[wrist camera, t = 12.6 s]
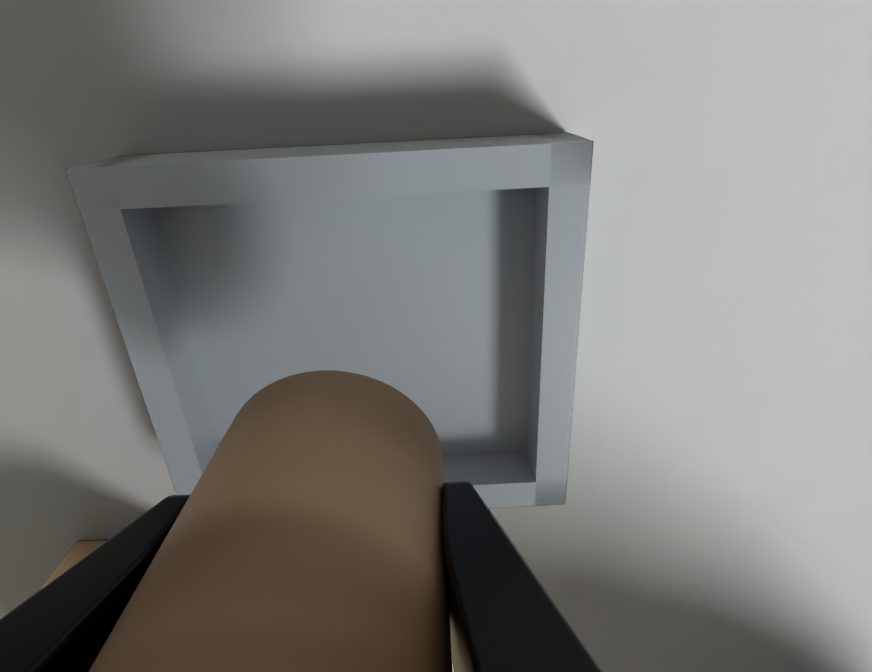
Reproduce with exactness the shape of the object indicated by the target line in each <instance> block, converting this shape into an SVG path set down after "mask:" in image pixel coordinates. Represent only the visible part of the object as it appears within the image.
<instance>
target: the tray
mask: <svg viewBox="0 0 872 672" xmlns="http://www.w3.org/2000/svg"><path fill="white" fill-rule="evenodd" d="M593 142H594V141H591V140H588V139H585V138H582V137H580V136H577V135H574V134H571V133H568V132H565V133H546V134H527V135H508V136H489V137H471V138H452V139H433V140H414V141H395V142H376V143H357V144H338V145H319V146H300V147H281V148H262V149H243V150H224V151H205V152H186V153H167V154H148V155H129V156H118V157H114V158H110V159H105V160H101V161H97V162H93V163H89V164H84V165H80V166H76V167H72V168H68V169H65V171H66V174H67V177H68V180H69V183H70V185H71V188H72V191H73V194H74V197H75V200H76V203H77V206H78V209H79V212H80V215H81V218H82V220H83V223H84V226H85V229H86V232H87V235H88V238H89V241H90V244H91V247H92V250H93V252H94V255H95V258H96V261H97V264H98V267H99V270H100V273H101V276H102V279H103V282H104V285H105V287H106V290H107V293H108V296H109V299H110V302H111V305H112V308H113V311H114V314H115V317H116V320H117V322H118V325H119V328H120V331H121V334H122V337H123V340H124V343H125V346H126V349H127V352H128V354H129V357H130V360H131V363H132V366H133V369H134V372H135V375H136V378H137V381H138V384H139V387H140V389H141V392H142V395H143V398H144V401H145V404H146V407H147V410H148V413H149V416H150V419H151V422H152V424H153V427H154V430H155V433H156V436H157V439H158V442H159V445H160V448H161V451H162V454H163V456H164V459H165V462H166V465H167V468H168V471H169V474H170V477H171V480H172V483H173V486H174V489H175V491H176V494H177V495H190V494H191V493H192V491H193V489H194V488H195V486H196V484H197V483H198V481H199V479H200V477H201V476H202V474H203V472H204V470H205V469H206V467H207V465H208V463H209V462H210V460H211V458H212V457H213V455H214V453H215V451H216V450H217V448H218V446H219V444H220V443H221V441H222V439H223V437H224V436H225V434H226V432H227V430H228V429H229V427H230V425H231V424H232V422H233V420H234V418H235V417H236V415H237V413H238V412H239V411H240V409H241V408H242V407H243V405H244V404H245V403H246V402H247V401H248V400H249V399H250V398H251V397H252V396H253V395H254V394H256V393H257V392H258V391H260V390H261V389H263V388H264V387H266V386H268V385H269V384H271V383H273V382H275V381H277V380H280V379H282V378H285V377H288V376H291V375H295V374H299V373H303V372H311V371H320V370H335V371H344V372H352V373H356V374H360V375H365V376H368V377H371V378H373V379H376V380H379V381H381V382H383V383H385V384H388V385H390V386H392V387H394V388H395V389H397V390H398V391H400V392H401V393H403V394H404V395H406V396H407V397H408V398H409V399H411V400H412V401H413V402H414V403H415V404H416V405H417V406H418V407H419V408H420V409H421V410H422V411H423V412H424V413H425V415H426V416H427V417H428V419H429V420H430V422H431V423H432V425H433V427H434V429H435V431H436V433H437V435H438V438H439V441H440V444H441V448H442V455H443V472H444V483H445V482H453V481H468V482H470V483H471V484H472V486H473V487H474V488H475V490H476V491H477V493H478V494H479V495H480V497H481V498H482V500H483V501H484V503H485V504H486V505H487V507H488V508H499V507H519V506H540V505H560V504H565V500H566V487H567V474H568V461H569V448H570V436H571V423H572V410H573V397H574V385H575V372H576V359H577V346H578V334H579V321H580V308H581V295H582V282H583V270H584V257H585V244H586V231H587V219H588V206H589V193H590V180H591V167H592V155H593Z"/></svg>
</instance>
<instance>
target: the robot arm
mask: <svg viewBox="0 0 872 672" xmlns="http://www.w3.org/2000/svg"><path fill="white" fill-rule="evenodd" d="M190 495H191V494H190ZM190 495H173V496H169V497H166V498H165V499H163V500H162V501H161V502H159V503H158V504H156V505H155V506H154V507H152V508H151V509H150V510H148V511H147V512H146V513H144V514H143V515H142V516H140V517H139V518H137V519H136V520H135V521H133V522H132V523H131V524H129V525H128V526H127V527H125V528H124V529H122V530H121V531H120V532H118V533H117V534H116V535H114V536H113V537H112V538H110V539H109V540H108V541H106V542H105V543H103V544H102V545H101V546H99V547H98V548H97V549H95V550H94V551H93V552H91V553H90V554H89V555H87V556H86V557H84V558H83V559H82V560H80V561H79V562H78V563H76V564H75V565H74V566H72V567H71V568H69V569H68V570H67V571H65V572H64V573H63V574H61V575H60V576H59V577H57V578H56V579H55V580H53V581H52V582H50V583H49V584H48V585H46V586H45V587H44V588H42V589H41V590H40V591H38V592H37V593H35V594H34V595H33V596H31V597H30V598H29V599H27V600H26V601H25V602H23V603H22V604H21V605H19V606H18V607H16V608H15V609H14V610H12V611H11V612H10V613H8V614H7V615H6V616H4V617H3V618H2V619H0V672H89V670H90V668H91V666H92V665H93V663H94V661H95V660H96V658H97V656H98V654H99V653H100V651H101V649H102V647H103V646H104V644H105V642H106V640H107V639H108V637H109V635H110V634H111V632H112V630H113V628H114V627H115V625H116V623H117V621H118V620H119V618H120V616H121V614H122V613H123V611H124V609H125V607H126V606H127V604H128V602H129V601H130V599H131V597H132V595H133V594H134V592H135V590H136V588H137V587H138V585H139V583H140V581H141V580H142V578H143V576H144V575H145V573H146V571H147V569H148V568H149V566H150V564H151V562H152V561H153V559H154V557H155V555H156V554H157V552H158V550H159V548H160V547H161V545H162V543H163V542H164V540H165V538H166V536H167V535H168V533H169V531H170V529H171V528H172V526H173V524H174V522H175V521H176V519H177V517H178V516H179V514H180V512H181V510H182V509H183V507H184V505H185V503H186V502H187V500H188V498H189V496H190ZM442 509H443V538H444V555H445V569H446V579H447V588H448V597H449V610H450V633H451V655H452V662H453V668H454V672H602V670H601V669H600V667H599V666H598V664H597V663H596V661H595V660H594V659H593V657H592V656H591V654H590V653H589V651H588V650H587V648H586V647H585V646H584V644H583V643H582V641H581V640H580V638H579V637H578V636H577V634H576V633H575V631H574V630H573V628H572V627H571V626H570V624H569V623H568V621H567V620H566V618H565V617H564V616H563V614H562V613H561V611H560V610H559V608H558V607H557V606H556V604H555V603H554V601H553V600H552V598H551V597H550V596H549V594H548V593H547V591H546V590H545V588H544V587H543V586H542V584H541V583H540V581H539V580H538V578H537V577H536V576H535V574H534V573H533V571H532V570H531V568H530V567H529V566H528V564H527V563H526V561H525V560H524V558H523V557H522V556H521V554H520V553H519V551H518V550H517V548H516V547H515V546H514V544H513V543H512V541H511V540H510V538H509V537H508V536H507V534H506V533H505V531H504V530H503V528H502V527H501V526H500V524H499V523H498V521H497V520H496V518H495V517H494V516H493V514H492V513H491V511H490V510H489V508H488V507H487V505H486V504H485V503H484V501H483V500H482V498H481V497H480V495H479V494H478V493H477V491H476V490H475V488H474V487H473V486H472V484H471V483H470V482H468V481H453V482H445V483H443V485H442Z"/></svg>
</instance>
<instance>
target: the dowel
mask: <svg viewBox="0 0 872 672" xmlns="http://www.w3.org/2000/svg"><path fill="white" fill-rule="evenodd" d="M443 483H444V472H443V455H442V448H441V444H440V441H439V438H438V435H437V433H436V431H435V429H434V427H433V425H432V423H431V422H430V420H429V419H428V417H427V416H426V415H425V413H424V412H423V411H422V410H421V409H420V408H419V407H418V406H417V405H416V404H415V403H414V402H413V401H412V400H411V399H409V398H408V397H407V396H406V395H404V394H403V393H401V392H400V391H398V390H397V389H395V388H394V387H392V386H390V385H388V384H385V383H383V382H381V381H379V380H376V379H373V378H371V377H368V376H365V375H360V374H356V373H352V372H344V371H335V370H320V371H311V372H303V373H299V374H295V375H291V376H288V377H285V378H282V379H280V380H277V381H275V382H273V383H271V384H269V385H268V386H266V387H264V388H263V389H261V390H260V391H258V392H257V393H256V394H254V395H253V396H252V397H251V398H250V399H249V400H248V401H247V402H246V403H245V404H244V405H243V407H242V408H241V409H240V411H239V412H238V413H237V415H236V417H235V418H234V420H233V422H232V424H231V425H230V427H229V429H228V430H227V432H226V434H225V436H224V437H223V439H222V441H221V443H220V444H219V446H218V448H217V450H216V451H215V453H214V455H213V457H212V458H211V460H210V462H209V463H208V465H207V467H206V469H205V470H204V472H203V474H202V476H201V477H200V479H199V481H198V483H197V484H196V486H195V488H194V489H193V491H192V493H191V495H190V496H189V498H188V500H187V502H186V503H185V505H184V507H183V509H182V510H181V512H180V514H179V516H178V517H177V519H176V521H175V522H174V524H173V526H172V528H171V529H170V531H169V533H168V535H167V536H166V538H165V540H164V542H163V543H162V545H161V547H160V548H159V550H158V552H157V554H156V555H155V557H154V559H153V561H152V562H151V564H150V566H149V568H148V569H147V571H146V573H145V575H144V576H143V578H142V580H141V581H140V583H139V585H138V587H137V588H136V590H135V592H134V594H133V595H132V597H131V599H130V601H129V602H128V604H127V606H126V607H125V609H124V611H123V613H122V614H121V616H120V618H119V620H118V621H117V623H116V625H115V627H114V628H113V630H112V632H111V634H110V635H109V637H108V639H107V640H106V642H105V644H104V646H103V647H102V649H101V651H100V653H99V654H98V656H97V658H96V660H95V661H94V663H93V665H92V666H91V668H90V670H89V672H452V656H451V633H450V610H449V597H448V588H447V579H446V569H445V555H444V538H443V509H442V485H443Z"/></svg>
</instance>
